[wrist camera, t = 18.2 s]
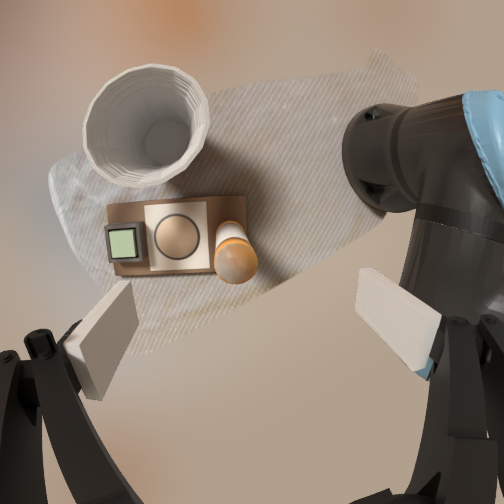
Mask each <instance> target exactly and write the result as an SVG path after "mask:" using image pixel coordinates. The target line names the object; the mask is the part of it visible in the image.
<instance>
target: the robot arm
mask: <svg viewBox="0 0 504 504" xmlns="http://www.w3.org/2000/svg"><path fill="white" fill-rule="evenodd" d="M342 160H343V166H344V170H345V173H346V176H347V178H348V180H349V183H350V184H351V186H352V188H353V189H354V191H355V192H356V193H357V195H358V196H359V197H360V198H361V199H362V200H363V201H364V202H366V203H367V204H368V205H370V206H372V207H374V208H376V209H379V210H382V211H387V212H393V213H401V212H406V211H410V210H413V209H416V214H415V218H414V223H413V228H412V234H411V238H410V243H409V247H408V252H407V256H406V260H405V264H404V269H403V272H402V276H401V279H400V283H399V286H398V285H397V284H395V283H394V282H392V281H391V280H389V279H388V278H386V277H385V276H383V275H381V274H380V273H378V272H377V271H375V270H374V269H372V268H360V272H359V282H358V290H357V298H356V306H355V311H356V312H357V313H358V314H359V315H360V316H361V317H362V318H363V319H364V320H365V321H366V322H367V323H368V324H369V325H370V327H371V328H372V329H373V330H374V331H375V332H376V333H377V334H378V335H379V336H380V337H381V338H382V339H383V340H384V341H385V342H386V343H387V344H388V346H390V348H391V349H392V350H393V351H394V352H395V353H396V354H397V355H398V356H399V358H400V359H401V360H402V362H403V363H404V364H405V365H406V366H408V367H409V368H410V369H411V370H412V371H413V372H415V373H416V374H418V375H419V376H420V377H422V378H424V379H425V380H426V381H429V382H430V386H429V395H428V403H427V410H426V416H425V422H424V428H423V433H422V438H421V443H420V448H419V452H418V456H417V460H416V464H415V468H414V472H413V475H412V478H411V481H410V484H409V486H408V488H407V490H406V491H405V493H404V494H397V495H396V494H395V495H392V493H391V491H390V489H389V488H388V489H385V490H383V491H381V492H378V493H375V494H373V495H370V496H367V497H364V498H361V499H359V500H356V501H353V502H351V503H350V504H495V498H496V489H497V475H498V479H499V484H500V488H501V491H502V494H503V497H504V92H502V91H498V90H485V91H467V92H466V93H464V94H460V95H456V96H452V97H448V98H445V99H440V100H437V101H433V102H429V103H426V104H422V105H419V106H415V107H412V108H411V107H406V106H401V105H395V104H377V105H373V106H371V107H368V108H366V109H364V110H362V111H360V112H359V113H358V114H356V115H355V116H354V117H353V118H352V120H351V121H350V123H349V124H348V126H347V128H346V131H345V133H344V137H343V143H342ZM426 220H428V221H426ZM430 221H432V222H430ZM434 222H435V223H434ZM438 223H439V224H438ZM441 224H443V225H441ZM445 225H446V226H445ZM449 226H450V227H449ZM452 227H454V228H452ZM456 228H457V229H456ZM459 229H460V230H459ZM462 230H463V231H462ZM466 231H467V232H466ZM469 232H470V233H469ZM472 233H473V234H472ZM138 325H139V321H138V317H137V312H136V307H135V302H134V296H133V291H132V285H131V281H118V282H117V283H116V284H115V285H114V286H113V287H112V288H111V289H110V291H109V292H108V293H107V294H106V295H105V296H104V297H103V298H102V299H101V300H100V301H99V302H98V304H97V305H96V306H95V307H94V308H93V309H92V310H91V311H90V312H89V314H88V315H87V316H86V317H85V318H84V319H83V320H80V321H78V322H76V323H75V324H73V325H72V326H71V327H70V329H69V330H68V331H67V332H66V333H65V334H64V336H63V337H62V338H61V339H60V340H59V341H58V342H57V344H56V342H55V340H54V337H53V334H52V332H51V331H50V330H48V329H38V330H35V331H32V332H31V333H29V334H28V335H27V336H26V337H25V338H24V343H25V346H26V348H27V350H28V353H29V355H30V358H31V360H20V358H19V355H18V353H17V352H16V351H14V350H8V351H3V352H1V353H0V504H48V500H47V495H46V487H45V479H44V469H43V454H42V415H43V419H44V422H45V426H46V429H47V433H48V436H49V439H50V442H51V445H52V448H53V451H54V453H55V456H56V459H57V461H58V464H59V466H60V469H61V471H62V474H63V476H64V478H65V481H66V483H67V485H68V487H69V489H70V491H71V493H72V496H73V498H74V499H75V502H76V503H77V504H144V503H143V502H142V500H141V499H140V498H139V497H138V495H137V494H136V493H135V492H134V490H133V489H132V487H131V486H130V485H129V483H128V482H127V481H126V479H125V478H124V476H123V475H122V473H121V472H120V471H119V469H118V467H117V466H116V464H115V463H114V461H113V459H112V458H111V456H110V455H109V453H108V451H107V450H106V448H105V446H104V445H103V443H102V441H101V439H100V437H99V436H98V434H97V432H96V430H95V428H94V426H93V425H92V422H91V420H90V418H89V416H88V415H87V412H86V410H85V408H84V407H83V404H82V402H81V400H80V398H79V396H78V393H79V392H80V390H81V388H82V391H83V393H84V395H85V397H86V399H92V400H98V401H102V399H103V397H104V395H105V393H106V391H107V388H108V386H109V384H110V382H111V380H112V377H113V376H114V373H115V371H116V369H117V367H118V365H119V363H120V361H121V359H122V357H123V355H124V353H125V351H126V349H127V347H128V345H129V343H130V341H131V339H132V337H133V335H134V333H135V331H136V329H137V327H138ZM487 431H488V435H489V438H487Z"/></svg>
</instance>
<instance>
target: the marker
mask: <svg viewBox="0 0 504 504" xmlns="http://www.w3.org/2000/svg"><path fill="white" fill-rule="evenodd" d="M257 267H258V259H257V256H256V253H255V251H254V249H253V247H252V246H251V244H250V243H249V241H248V239H247V237H246V234H245V232H244V229H243V227H242V226H241V225H240V224H239V223H238V222H237V221H234V220H226V221H224V222H222V223H221V224H220V225H219V226H218V228H217V230H216V249H215V256H214V268H215V271H216V273H217V275H218V276H219V277H220V278H221V279H222V280H223V281H225V282H227V283H230V284H242V283H245V282H247V281H248V280H250V279H251V278H252V277H253V276H254V274H255V273H256V270H257Z"/></svg>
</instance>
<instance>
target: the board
mask: <svg viewBox="0 0 504 504" xmlns="http://www.w3.org/2000/svg"><path fill="white" fill-rule="evenodd" d="M107 213H108V225H106V226H104V227H105V236H106V244H107V252H108V258H109V263H114V269H115V275H116V276H122V275H150V274H175V273H197V272H216V271H215V268H214V256H215V249H216V230H217V228H218V226H219V225H220V224H221V223H222V222H224V221H226V220H234V221H237V222H238V223H239V224H240V225H241V226H242V227H243V229H244V232H245V234H246V237H247V221H246V195H230V196H208V197H190V198H175V199H162V200H149V201H138V202H128V203H118V204H109V205H107ZM125 228H136V236H137V246H138V255H137V256H136V257H117V258H112V252H111V244H110V236H109V232H111V231H113V230H115V229H125Z"/></svg>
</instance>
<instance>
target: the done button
mask: <svg viewBox="0 0 504 504" xmlns="http://www.w3.org/2000/svg"><path fill="white" fill-rule="evenodd" d="M109 236H110V244H111V252H112V258H117V257H136V256H137V255H138V246H137V236H136V228H125V229H115V230H113V231H111V232H109Z"/></svg>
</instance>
